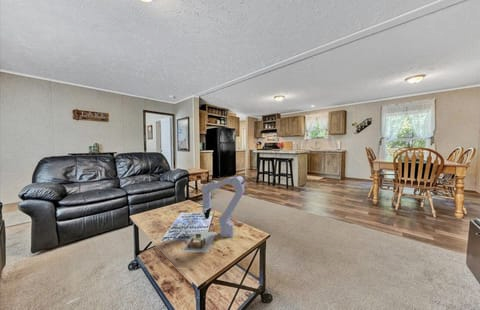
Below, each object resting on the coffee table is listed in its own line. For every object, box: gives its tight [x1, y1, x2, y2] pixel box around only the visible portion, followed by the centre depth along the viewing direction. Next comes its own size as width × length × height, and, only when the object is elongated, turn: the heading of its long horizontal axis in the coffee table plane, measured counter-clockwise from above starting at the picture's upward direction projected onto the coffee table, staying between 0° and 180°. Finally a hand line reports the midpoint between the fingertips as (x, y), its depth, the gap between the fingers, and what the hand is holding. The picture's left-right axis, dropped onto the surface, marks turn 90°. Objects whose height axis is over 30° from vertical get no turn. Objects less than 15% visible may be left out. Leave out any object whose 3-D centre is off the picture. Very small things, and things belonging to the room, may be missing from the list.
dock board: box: [181, 231, 217, 253], centre depth 114 cm, size 16×24×1 cm, turn 176°
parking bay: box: [188, 238, 205, 249], centre depth 109 cm, size 9×7×2 cm
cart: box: [193, 234, 203, 244], centre depth 109 cm, size 6×5×6 cm
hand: (207, 218), depth 126 cm, fingers closed
